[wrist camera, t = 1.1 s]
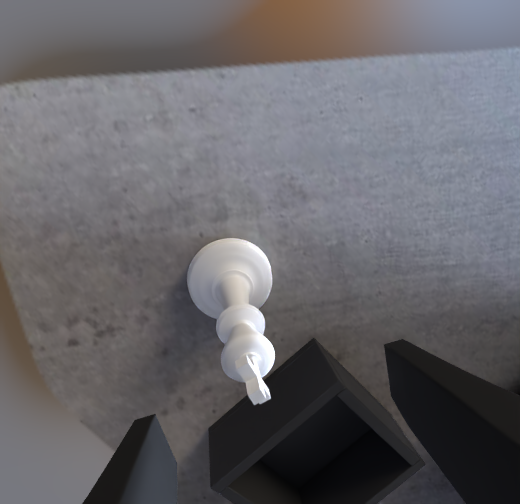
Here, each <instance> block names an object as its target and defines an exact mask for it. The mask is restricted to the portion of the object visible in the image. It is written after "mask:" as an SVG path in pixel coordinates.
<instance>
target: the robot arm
mask: <svg viewBox="0 0 520 504" xmlns="http://www.w3.org/2000/svg"><path fill="white" fill-rule="evenodd" d="M384 347H385V355H386V362H387V370H388V377H389V384H390V392H391V397H392V399H393V400H394V402H395V404H396V406H397V407H398V409H399V411H400V413H401V414H402V416H403V418H404V419H405V421H406V423H407V424H408V426H409V428H410V429H411V430H412V432H413V433H414V434H415V436H416V437H417V439H418V440H419V441H420V443H421V444H422V445H423V447H424V448H425V449H426V451H427V452H428V453H429V455H430V456H431V457H432V459H433V460H434V461H435V463H436V464H437V465H438V467H439V468H440V469H441V471H442V472H443V473H444V475H445V476H446V477H447V479H448V480H449V481H450V483H451V484H452V485H453V487H454V488H455V489H456V491H457V492H458V493H459V495H460V496H461V497H462V499H463V500H464V501H465V503H466V504H520V395H517V394H515V393H512V392H510V391H508V390H506V389H503V388H501V387H499V386H496V385H494V384H492V383H490V382H487V381H485V380H483V379H481V378H479V377H477V376H474V375H472V374H470V373H468V372H466V371H464V370H462V369H460V368H458V367H456V366H454V365H452V364H450V363H448V362H446V361H444V360H442V359H440V358H438V357H436V356H434V355H433V354H431V353H429V352H427V351H425V350H423V349H421V348H419V347H417V346H415V345H414V344H412V343H410V342H408V341H406V340H404V339H401V340H398V341H394V342H391V343H388V344H385V345H384ZM83 504H177V462H176V460H175V458H174V456H173V453H172V451H171V449H170V446H169V444H168V442H167V440H166V437H165V435H164V433H163V431H162V428H161V426H160V424H159V421H158V419H157V417H156V415H155V414H153V415H150V416H147V417H143V418H140V419H137V420H135V421H134V422H133V424H132V426H131V427H130V429H129V430H128V432H127V434H126V435H125V437H124V438H123V440H122V442H121V443H120V445H119V447H118V448H117V450H116V452H115V453H114V455H113V457H112V458H111V460H110V461H109V463H108V465H107V467H106V468H105V470H104V471H103V473H102V474H101V476H100V477H99V479H98V481H97V482H96V484H95V485H94V487H93V488H92V490H91V492H90V493H89V495H88V496H87V498H86V499H85V501H84V502H83Z"/></svg>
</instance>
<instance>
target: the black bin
mask: <svg viewBox="0 0 520 504" xmlns="http://www.w3.org/2000/svg"><path fill="white" fill-rule="evenodd" d="M263 382H264V383H265V385H266V386H267V388H268V389H269V393H270V396H271V399H269V400H267V401H265V402H264V403H262V404H259V403H258V404H256V405H254V404H253V403H252V401H251V400H250V398H249V397H248V395H247V396H246V397H244V398H243V399H242V400H241V401H240V402H239V403H237V404H236V405H235V406H234V407H233V408H232V409H231V410H229V411H228V412H227V413H226V414H225V415H224V416H222V417H221V418H220V419H219V420H218V421H217V422H215V423H214V424H213V425H212V426H211V427H210V428H209V457H210V487H211V489H212V490H214V491H216V492H217V493H220V495H222V496H223V497H225V498H227V499H228V500H230V501H231V502H233V503H234V504H377V503H378V502H379V501H381V500H382V499H383V498H384V497H386V496H387V495H388V494H390V493H391V492H392V491H393V490H395V489H396V488H397V487H398V486H400V485H401V484H402V483H403V482H405V481H406V480H407V479H408V478H410V477H411V476H412V475H414V474H415V473H416V472H417V471H419V470H420V469H421V468H422V467H424V466H425V465H426V464H425V462H424V461H423V459H422V458H421V457H420V455H419V454H418V452H417V451H416V450H415V448H414V447H413V445H412V444H411V442H410V441H409V440H408V438H407V437H406V435H405V434H404V432H403V431H402V430H401V428H400V427H399V425H398V424H397V422H396V421H395V420H394V418H393V417H392V415H391V414H390V413H389V412H388V411H387V410H386V409H385V408H384V407H383V406H382V405H381V404H380V403H379V402H378V401H377V400H376V399H375V398H374V397H373V396H372V395H371V394H370V393H369V392H368V391H367V390H366V389H365V388H364V387H363V386H362V385H361V384H360V383H359V382H358V381H357V380H356V379H355V378H354V377H353V376H352V375H351V374H350V373H349V372H348V371H347V370H346V369H345V368H344V367H343V366H342V365H341V364H340V363H339V362H338V361H337V360H336V359H335V358H334V357H333V356H332V355H331V354H330V353H329V352H328V351H327V350H326V349H325V348H324V347H323V346H322V345H321V344H320V343H319V342H318V341H317V340H316V339H315V338H313V339H312V340H311V341H309V342H308V343H307V344H306V345H305V346H304V347H302V348H301V349H300V350H299V351H298V352H297V353H295V354H294V355H293V356H292V357H291V358H290V359H289V360H287V361H286V362H285V363H284V364H283V365H282V366H280V367H279V368H278V369H277V370H276V371H275V372H273V373H272V374H271V375H270V376H269V377H268V378H266V379H265V380H264V381H263Z"/></svg>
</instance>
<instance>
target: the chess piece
mask: <svg viewBox="0 0 520 504" xmlns="http://www.w3.org/2000/svg"><path fill="white" fill-rule="evenodd" d="M187 286H188V290H189V293H190V296H191V298H192V300H193V302H194V304H195V305H196V306H197V307H198V308H199V309H200V310H201V311H202V312H203V313H205V314H206V315H208V316H210V317H212V318H215V319H218V320H217V323H216V332H217V335H218V337H219V339H220V340H221V341H222V342H223V343H224V344H225V346H224V348H223V350H222V354H221V365H222V368H223V370H224V372H225V373H226V375H227V376H229V377H230V378H231V379H233V380H236V381H239V382H245V383H246V388H247V393H248V397H249V398H250V400H251V401H252V403H253V404H254V405H256V404H258V403H259V404H262V403H264V402H265V401H267V400H269V399H271V396H270V393H269V389H268V388H267V386H266V385H265V383H264V382H263V380H262V377H263V376H265V375H266V374H267V373H268V372H269V371H270V369H271V368H272V366H273V364H274V360H275V352H274V348H273V346H272V344H271V343H270V342H269V340H268V339H267V338H266V337H264V336H263V333H264V329H265V319H264V316H263V314H262V313H261V312H260V311H259V310H258V309H259V308H260V307H261V306H262V305H263V304H264V303H265V301H266V300H267V298H268V296H269V294H270V291H271V288H272V271H271V266H270V263H269V261H268V259H267V257H266V256H265V254H264V253H263V252H262V251H261V250H260V249H259V248H258V247H257V246H255V245H254V244H252V243H250V242H248V241H245V240H242V239H237V238H225V239H220V240H216V241H214V242H211V243H209V244H208V245H206V246H205V247H203V248H202V249H201V250H200V251H199V252H198V253H197V254H196V255H195V256H194V258H193V260H192V261H191V263H190V266H189V269H188V273H187Z"/></svg>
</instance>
